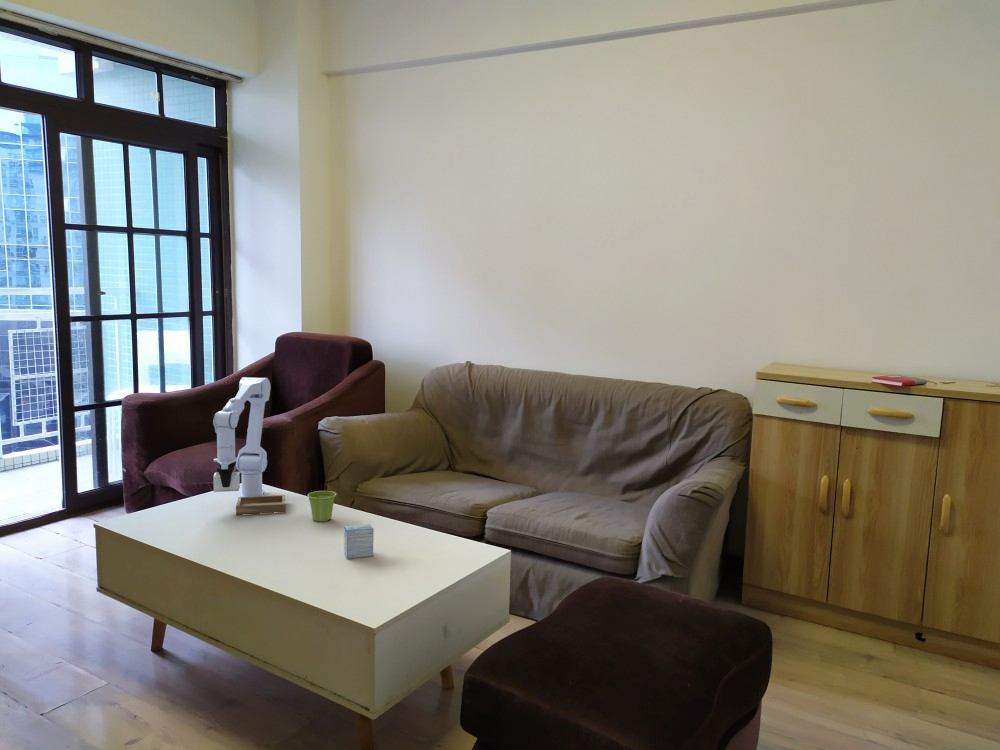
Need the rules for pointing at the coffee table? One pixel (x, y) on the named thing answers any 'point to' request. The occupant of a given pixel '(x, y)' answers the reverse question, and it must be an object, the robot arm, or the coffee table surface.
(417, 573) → the coffee table surface
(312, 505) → the plant pot
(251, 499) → the walnut crate
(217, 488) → the white crate
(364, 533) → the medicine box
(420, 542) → the coffee table surface
